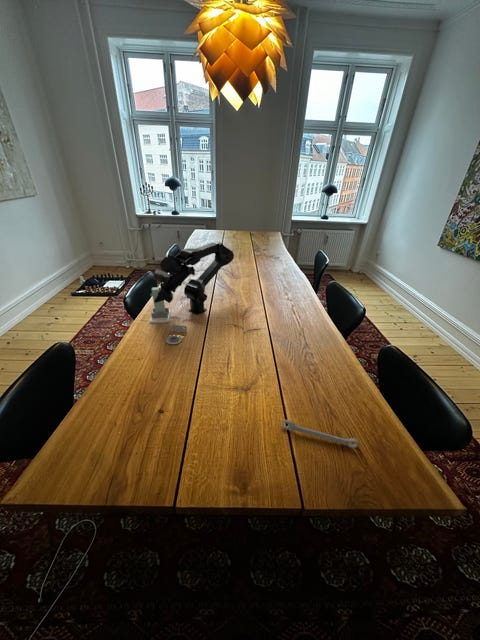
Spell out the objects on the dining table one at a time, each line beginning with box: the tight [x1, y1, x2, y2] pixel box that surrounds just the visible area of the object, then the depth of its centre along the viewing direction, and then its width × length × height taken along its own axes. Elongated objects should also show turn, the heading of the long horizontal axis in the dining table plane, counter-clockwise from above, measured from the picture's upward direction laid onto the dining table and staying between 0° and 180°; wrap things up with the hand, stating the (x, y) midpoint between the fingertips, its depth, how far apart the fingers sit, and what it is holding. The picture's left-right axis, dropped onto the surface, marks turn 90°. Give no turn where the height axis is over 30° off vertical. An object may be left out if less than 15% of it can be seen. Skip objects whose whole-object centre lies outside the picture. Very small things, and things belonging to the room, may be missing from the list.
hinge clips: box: [149, 307, 172, 324], centre depth 117 cm, size 8×10×4 cm
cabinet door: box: [150, 286, 166, 312], centre depth 114 cm, size 5×2×12 cm, turn 98°
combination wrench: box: [279, 419, 360, 449], centre depth 67 cm, size 4×1×20 cm
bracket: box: [165, 324, 188, 345], centre depth 104 cm, size 7×10×4 cm, turn 174°
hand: (155, 300), depth 114 cm, fingers closed on cabinet door, 2 cm apart
